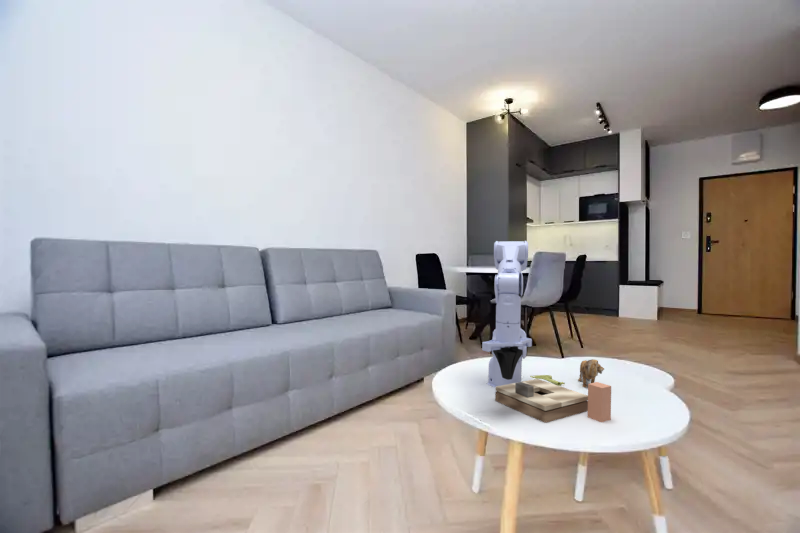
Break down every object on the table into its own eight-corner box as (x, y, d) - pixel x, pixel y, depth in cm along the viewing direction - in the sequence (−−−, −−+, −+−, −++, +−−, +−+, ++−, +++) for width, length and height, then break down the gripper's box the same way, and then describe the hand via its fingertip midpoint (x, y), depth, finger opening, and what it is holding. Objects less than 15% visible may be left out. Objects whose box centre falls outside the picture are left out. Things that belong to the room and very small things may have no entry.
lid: (495, 390, 99) (495, 377, 99) (536, 382, 107) (537, 370, 107) (545, 410, 86) (545, 395, 86) (589, 399, 93) (589, 385, 93)
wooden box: (495, 402, 99) (495, 391, 99) (536, 393, 107) (536, 383, 107) (545, 425, 86) (545, 412, 86) (588, 413, 93) (588, 401, 93)
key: (559, 389, 113) (559, 382, 113) (526, 379, 123) (526, 372, 123) (574, 386, 116) (574, 379, 116) (541, 376, 127) (541, 370, 127)
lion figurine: (605, 392, 110) (606, 361, 110) (586, 391, 111) (586, 360, 111) (587, 377, 125) (588, 350, 125) (570, 376, 125) (571, 349, 125)
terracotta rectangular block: (587, 419, 89) (588, 383, 90) (596, 416, 91) (597, 381, 91) (601, 425, 86) (602, 388, 86) (610, 422, 88) (611, 386, 88)
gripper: (497, 326, 84) (496, 387, 83) (542, 322, 91) (541, 378, 91) (476, 322, 90) (475, 378, 90) (519, 319, 97) (518, 371, 97)
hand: (507, 378), depth 91 cm, fingers closed
